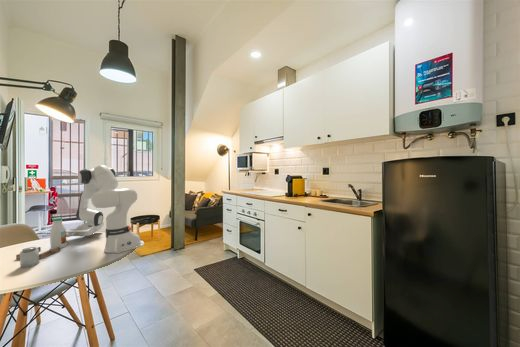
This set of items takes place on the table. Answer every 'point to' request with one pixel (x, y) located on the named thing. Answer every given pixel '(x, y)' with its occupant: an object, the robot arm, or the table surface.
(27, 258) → the grey jar
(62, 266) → the table surface
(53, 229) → the milk bottle
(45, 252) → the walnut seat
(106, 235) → the robot arm
